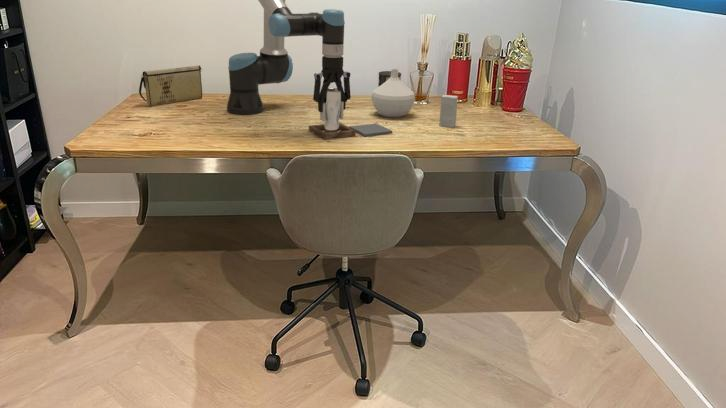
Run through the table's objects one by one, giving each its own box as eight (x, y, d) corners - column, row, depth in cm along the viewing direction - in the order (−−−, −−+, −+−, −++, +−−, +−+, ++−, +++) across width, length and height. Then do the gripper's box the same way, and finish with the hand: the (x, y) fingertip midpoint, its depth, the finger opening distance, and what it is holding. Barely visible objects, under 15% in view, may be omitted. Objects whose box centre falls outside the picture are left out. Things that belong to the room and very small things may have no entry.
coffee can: (374, 104, 251) (375, 73, 246) (381, 100, 260) (383, 70, 255) (395, 107, 248) (397, 75, 242) (402, 102, 257) (404, 72, 251)
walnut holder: (323, 139, 196) (323, 134, 195) (308, 130, 206) (308, 125, 206) (355, 135, 202) (355, 130, 201) (339, 127, 212) (339, 122, 212)
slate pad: (364, 136, 201) (364, 134, 201) (349, 128, 211) (349, 126, 210) (392, 133, 207) (392, 130, 207) (375, 125, 216) (376, 123, 216)
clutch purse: (197, 96, 256) (195, 63, 250) (206, 98, 252) (203, 65, 246) (137, 105, 235) (132, 70, 229) (145, 108, 231) (141, 72, 225)
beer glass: (340, 132, 201) (341, 92, 195) (321, 132, 201) (321, 91, 195) (341, 127, 207) (342, 88, 201) (323, 127, 207) (323, 87, 201)
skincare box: (455, 125, 221) (458, 95, 217) (453, 127, 218) (456, 97, 213) (440, 123, 223) (443, 94, 218) (438, 126, 219) (441, 96, 215)
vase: (384, 121, 223) (386, 74, 215) (363, 111, 238) (365, 67, 230) (421, 118, 231) (425, 72, 223) (399, 108, 246) (402, 65, 238)
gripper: (311, 58, 186) (311, 124, 195) (362, 56, 195) (359, 119, 204) (302, 55, 192) (303, 119, 201) (352, 53, 201) (350, 114, 210)
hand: (331, 119), depth 202 cm, fingers closed on beer glass, 7 cm apart
